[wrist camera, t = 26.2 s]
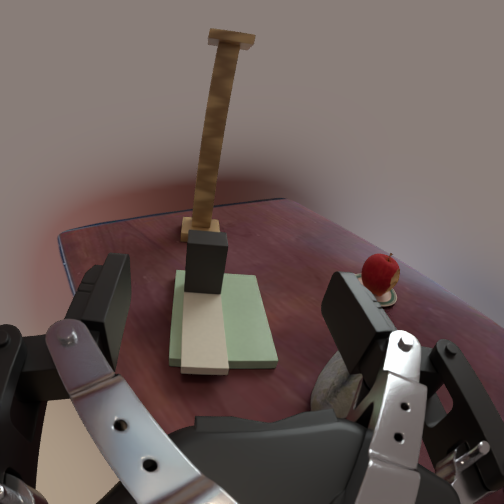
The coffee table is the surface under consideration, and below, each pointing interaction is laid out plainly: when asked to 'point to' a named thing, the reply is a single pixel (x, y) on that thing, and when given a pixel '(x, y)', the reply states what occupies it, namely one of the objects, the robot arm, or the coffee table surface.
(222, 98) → the stand
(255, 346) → the pale green rectangular panel
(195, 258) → the wooden mallet
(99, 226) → the coffee table surface
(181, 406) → the coffee table surface
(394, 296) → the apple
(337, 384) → the seashell
